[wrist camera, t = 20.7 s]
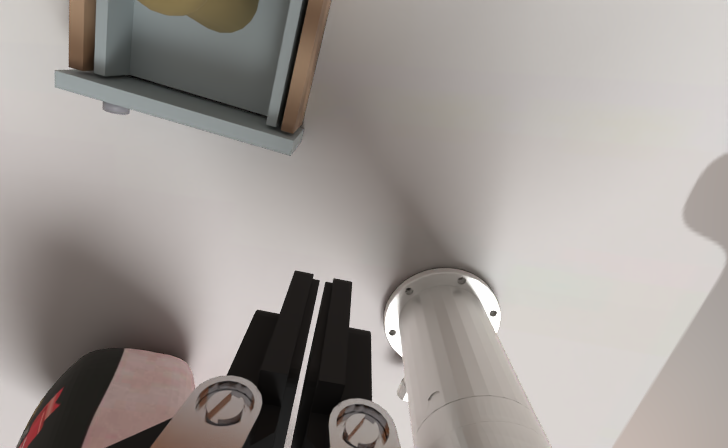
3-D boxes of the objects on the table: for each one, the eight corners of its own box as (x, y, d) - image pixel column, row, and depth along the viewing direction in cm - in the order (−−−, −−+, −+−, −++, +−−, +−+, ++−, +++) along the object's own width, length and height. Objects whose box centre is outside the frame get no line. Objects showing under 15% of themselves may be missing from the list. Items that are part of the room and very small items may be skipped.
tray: (298, 152, 36) (287, 167, 31) (101, 94, 34) (54, 100, 29) (350, -68, 30) (348, -95, 25) (112, -154, 28) (54, -203, 23)
